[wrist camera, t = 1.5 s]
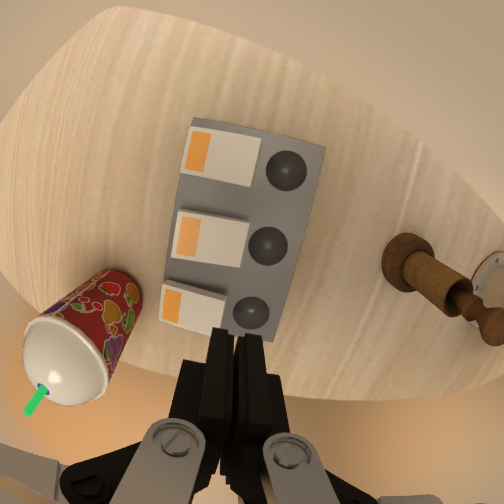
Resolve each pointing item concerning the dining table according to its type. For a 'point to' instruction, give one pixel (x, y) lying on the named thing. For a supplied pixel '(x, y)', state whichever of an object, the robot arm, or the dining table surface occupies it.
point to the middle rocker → (209, 238)
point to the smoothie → (80, 340)
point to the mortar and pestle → (439, 285)
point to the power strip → (253, 229)
